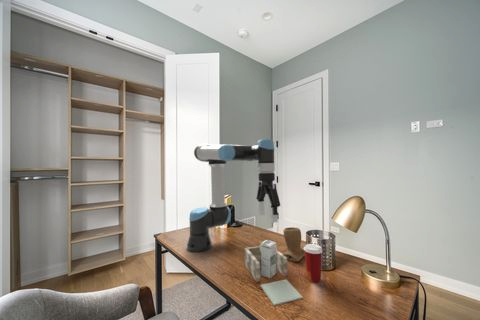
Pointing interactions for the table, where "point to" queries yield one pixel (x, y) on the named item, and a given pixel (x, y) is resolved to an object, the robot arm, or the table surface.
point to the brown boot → (293, 244)
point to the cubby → (254, 262)
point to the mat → (280, 292)
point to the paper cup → (313, 262)
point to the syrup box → (268, 259)
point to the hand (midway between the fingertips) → (267, 218)
